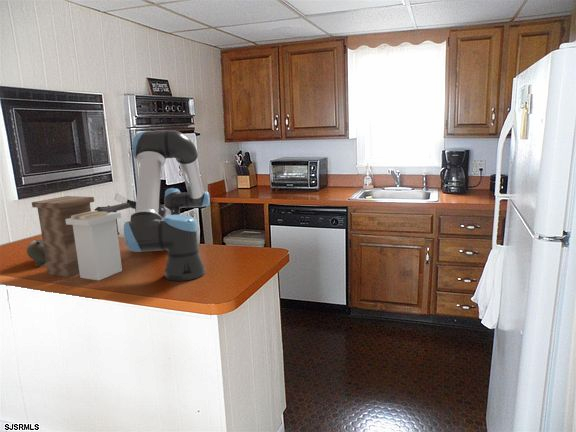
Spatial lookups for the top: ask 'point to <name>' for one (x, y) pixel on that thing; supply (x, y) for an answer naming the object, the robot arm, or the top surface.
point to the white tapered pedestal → (97, 246)
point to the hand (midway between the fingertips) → (127, 196)
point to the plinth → (60, 232)
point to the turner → (100, 212)
